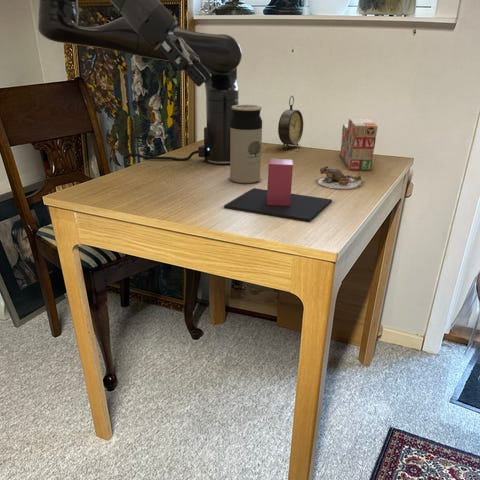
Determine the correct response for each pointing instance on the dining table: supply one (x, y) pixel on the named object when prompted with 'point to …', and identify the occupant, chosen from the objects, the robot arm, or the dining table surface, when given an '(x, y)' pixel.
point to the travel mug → (245, 143)
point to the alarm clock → (290, 126)
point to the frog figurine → (339, 179)
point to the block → (279, 182)
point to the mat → (298, 209)
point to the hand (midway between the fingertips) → (205, 81)
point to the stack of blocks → (358, 143)
